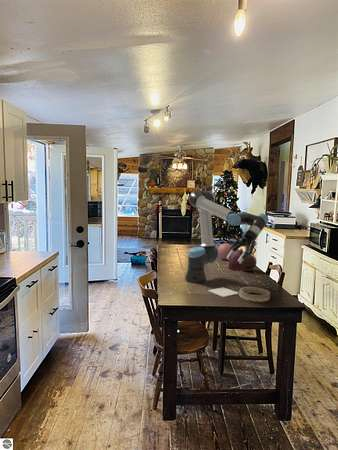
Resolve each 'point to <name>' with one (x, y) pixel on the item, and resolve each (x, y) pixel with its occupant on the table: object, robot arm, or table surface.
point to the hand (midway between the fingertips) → (233, 260)
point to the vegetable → (236, 262)
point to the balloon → (224, 250)
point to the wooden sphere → (249, 262)
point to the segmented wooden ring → (257, 298)
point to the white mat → (223, 292)
